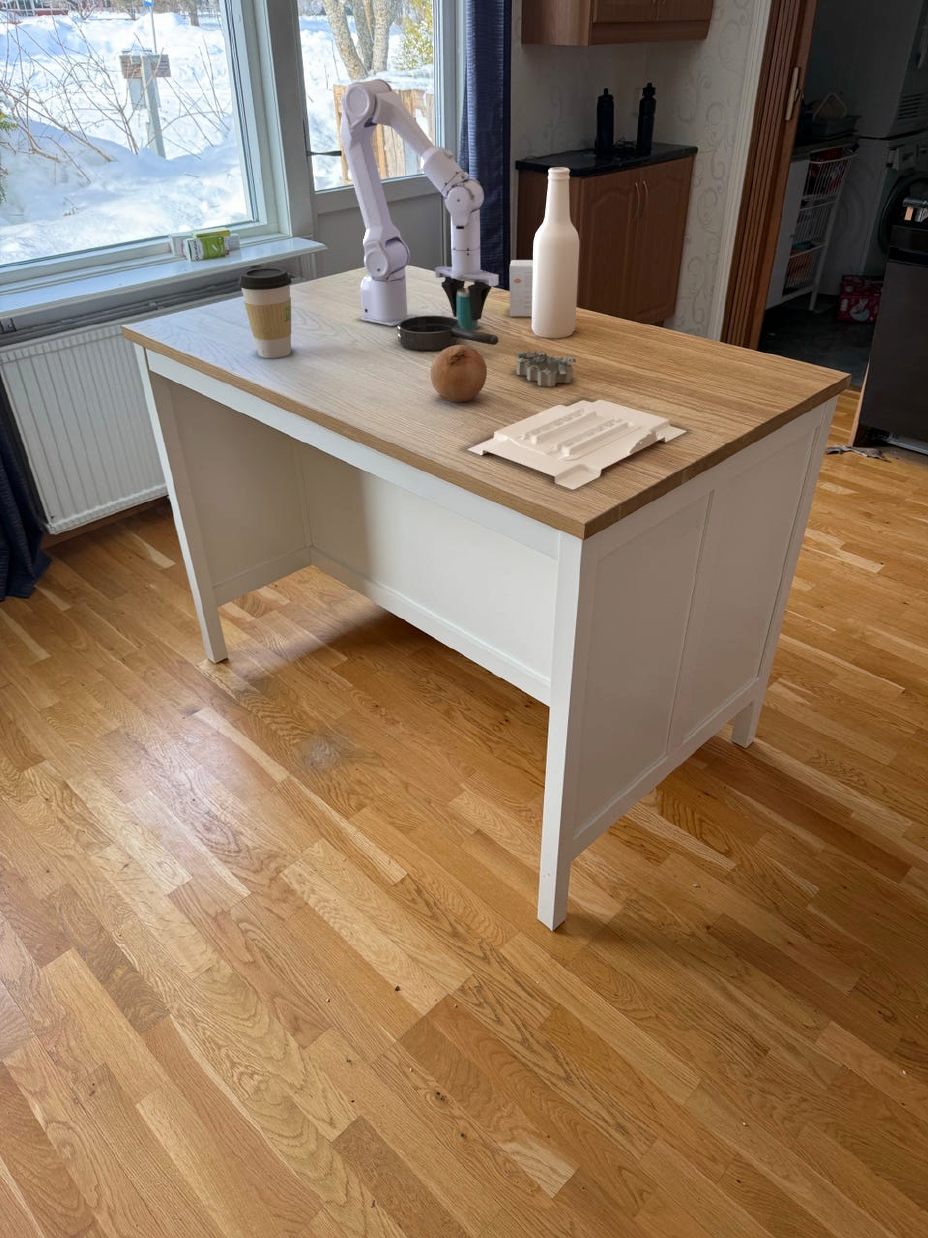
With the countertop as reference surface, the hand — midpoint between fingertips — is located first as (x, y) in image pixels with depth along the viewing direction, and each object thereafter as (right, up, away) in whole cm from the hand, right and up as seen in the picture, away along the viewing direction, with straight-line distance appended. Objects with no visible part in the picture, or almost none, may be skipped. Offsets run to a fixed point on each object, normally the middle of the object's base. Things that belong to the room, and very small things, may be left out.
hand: (467, 317), depth 185 cm
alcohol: (+17, -4, -3) cm, 18 cm away
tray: (+17, -35, -49) cm, 63 cm away
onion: (-1, -25, -34) cm, 42 cm away
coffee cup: (-37, -11, -11) cm, 40 cm away
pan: (-8, -7, -7) cm, 13 cm away
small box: (+13, +4, +9) cm, 16 cm away
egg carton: (+14, -19, -25) cm, 35 cm away
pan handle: (+1, -9, -14) cm, 17 cm away
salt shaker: (0, -2, +1) cm, 2 cm away
